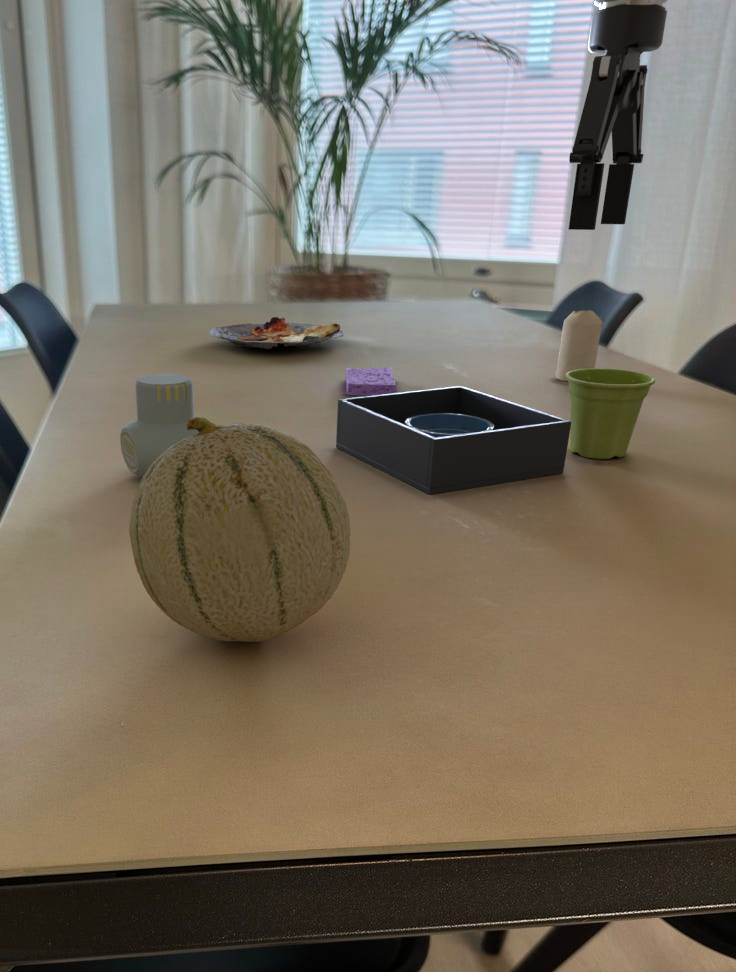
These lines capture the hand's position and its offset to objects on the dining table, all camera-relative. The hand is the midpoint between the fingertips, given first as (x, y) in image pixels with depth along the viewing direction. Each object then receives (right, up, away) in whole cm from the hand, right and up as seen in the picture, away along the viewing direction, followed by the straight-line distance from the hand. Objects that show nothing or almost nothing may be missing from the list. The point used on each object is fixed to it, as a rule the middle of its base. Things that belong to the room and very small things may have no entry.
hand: (597, 227), depth 106 cm
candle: (+9, -8, +35) cm, 37 cm away
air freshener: (-49, -31, -9) cm, 59 cm away
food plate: (-36, +7, +63) cm, 73 cm away
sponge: (-23, -11, +30) cm, 39 cm away
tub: (-19, -28, -4) cm, 34 cm away
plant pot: (-1, -27, -2) cm, 27 cm away
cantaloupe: (-41, -48, -41) cm, 75 cm away
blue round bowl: (-19, -27, -4) cm, 33 cm away
